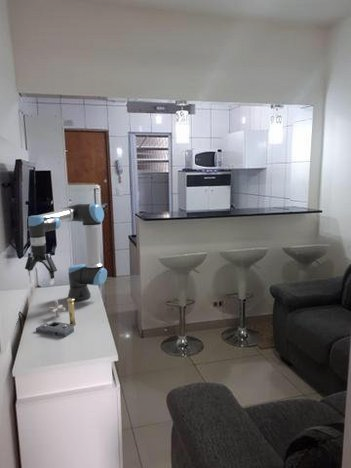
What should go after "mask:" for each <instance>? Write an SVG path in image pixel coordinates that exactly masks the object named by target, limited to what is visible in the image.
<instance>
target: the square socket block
mask: <svg viewBox="0 0 351 468" xmlns="http://www.w3.org/2000/svg"><path fill="white" fill-rule="evenodd" d="M74 326H75V325H72V324H70V323H66V322H62V321H61V322H59V321H52V322H50V323H46V322H44V323H43V324H41V325H39V326H37V327H36V328H35V332H37V333H42V334H47V335H52V336H57V337H63V338H67V337H68V336H70V335H71V334H73V333H74V332H75V327H74Z"/></svg>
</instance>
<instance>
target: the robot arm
mask: <svg viewBox="0 0 351 468" xmlns="http://www.w3.org/2000/svg"><path fill="white" fill-rule="evenodd" d="M26 217H27V230H26V231H28V232H29V239H30V245H31V246H30V250H31V251H30V252H28V253H27V260H26V264H25V267H24V269H25V270H27V271H28V276H29V283H34V282H35V281H36V279H35V269H34V268H35V266H36V264H37V263H42V265H44V266H45V268H46V270H47V271H48V273H47V274H48V282H49V283H48V285H49V286H52V285H54V284H55V279H54V278H55V272H57V271H58V268H57V267H56V264H55V263H54V260H53V258H52V255H51V253H48V254H47V253H46V252H47V245H46V243H47V241H46V232H50V231H56V230H58V229H59V228H60V227H61V223H63V222H66V223H70V222H81V223H82V226H83V227H84V229H85V245H86V246H85V247H86V260H87V261H86V263H78V264H73V265H71V266H70V267H68V282H69V290H68V295H67V299H69V298H74V302H81V301H86V300H88V299H90V298H91V292H90V289H89V286H90V285H91V286H103V284H105V283H106V280H107V277H108V271H107V269H106V268H105V267H104V264H103V263H102V262H101V246H100V245H101V244H100V229H99V228H100V226H101V225H102V224H101V223H102V222H103V221H104V218H105V212H104V208H103V207H102V206H101V205H99V204H96V203H78V204H73V205H69V206H66V207H63V208H62V209H58V210H55V211H50V212H47V213H46V212H45V213H42V214H38V215H30V216H26Z"/></svg>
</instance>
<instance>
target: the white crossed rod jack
mask: <svg viewBox="0 0 351 468" xmlns="http://www.w3.org/2000/svg"><path fill="white" fill-rule="evenodd" d="M63 306H64V305H63V304H59V300H54V306H49V307H48V310H49V311H51V314H55V318H60V311H62V312H64V311H66V307H63Z"/></svg>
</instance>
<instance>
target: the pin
mask: <svg viewBox="0 0 351 468" xmlns="http://www.w3.org/2000/svg"><path fill="white" fill-rule="evenodd" d="M66 303H67V305H68V315H69V324H72V325H74V326H75V325H76V315H75V301H74V298H69V299H68V298H67V299H66Z"/></svg>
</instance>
